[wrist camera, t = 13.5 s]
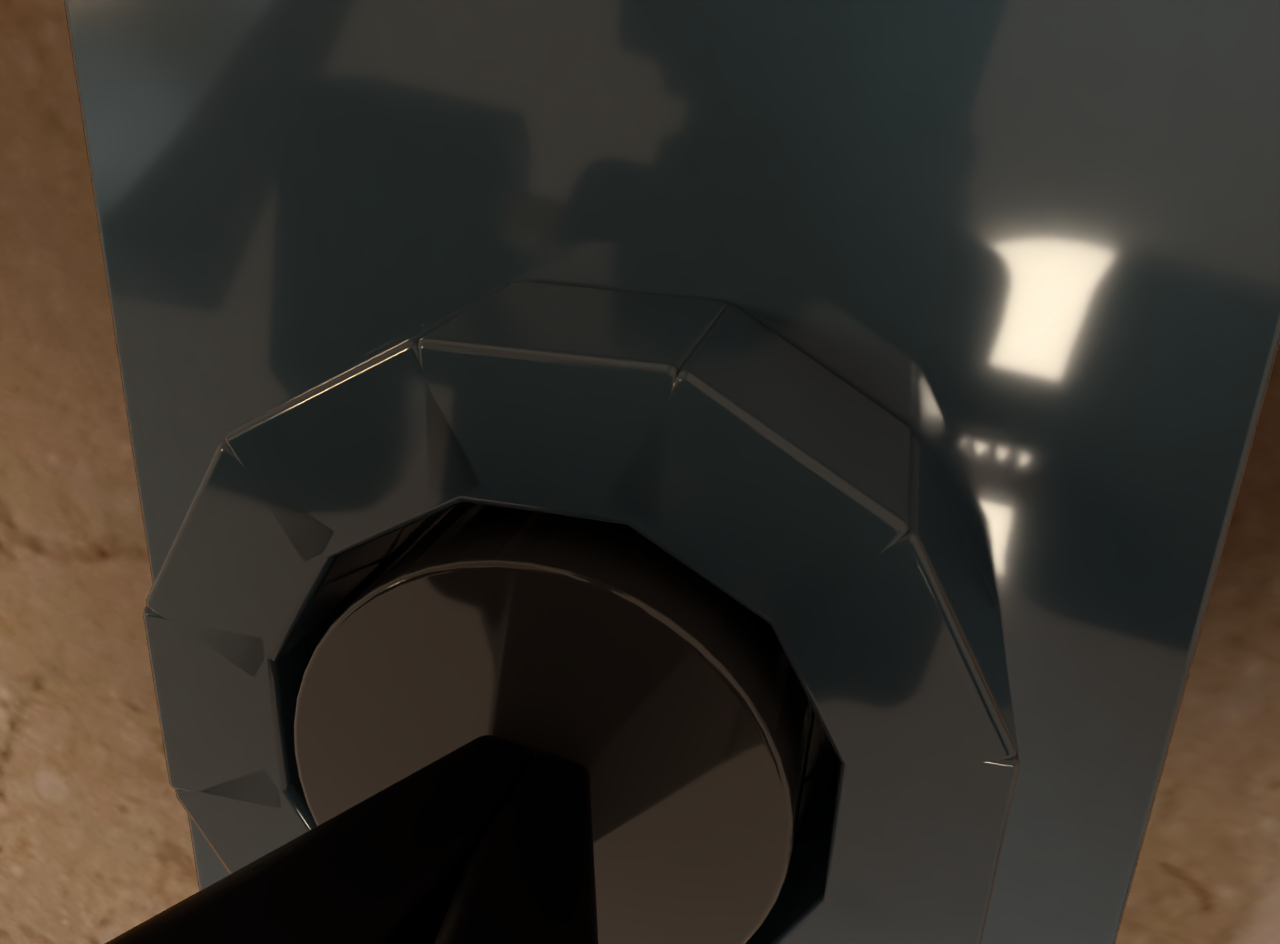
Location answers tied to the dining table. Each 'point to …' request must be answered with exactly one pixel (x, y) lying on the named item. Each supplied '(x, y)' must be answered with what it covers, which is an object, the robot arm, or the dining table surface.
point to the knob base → (715, 377)
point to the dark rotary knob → (577, 706)
